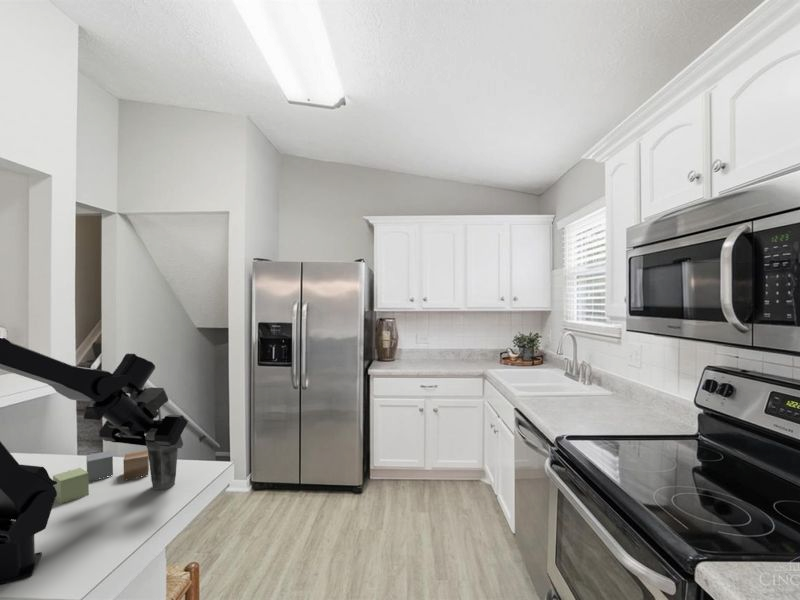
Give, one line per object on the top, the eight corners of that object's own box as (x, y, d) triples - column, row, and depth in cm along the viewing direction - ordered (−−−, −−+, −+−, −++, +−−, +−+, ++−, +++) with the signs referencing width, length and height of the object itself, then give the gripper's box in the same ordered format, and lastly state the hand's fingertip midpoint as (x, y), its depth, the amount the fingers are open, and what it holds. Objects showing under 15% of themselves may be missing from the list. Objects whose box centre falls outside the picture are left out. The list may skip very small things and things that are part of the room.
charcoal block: (112, 476, 102) (112, 456, 102) (87, 482, 99) (87, 461, 99) (111, 470, 106) (110, 450, 106) (86, 475, 103) (86, 455, 103)
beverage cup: (188, 480, 99) (187, 397, 99) (163, 494, 92) (162, 404, 92) (164, 477, 101) (162, 395, 101) (137, 491, 94) (136, 403, 94)
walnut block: (148, 476, 102) (147, 455, 102) (123, 480, 100) (123, 460, 100) (148, 468, 106) (148, 449, 106) (125, 473, 104) (125, 453, 104)
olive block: (88, 495, 93) (88, 472, 93) (60, 504, 88) (60, 481, 88) (80, 489, 95) (80, 467, 95) (53, 497, 91) (52, 475, 91)
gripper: (180, 379, 89) (215, 415, 100) (109, 377, 94) (150, 412, 104) (152, 427, 82) (192, 460, 93) (76, 422, 86) (124, 455, 97)
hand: (164, 445), depth 97 cm, fingers open, 9 cm apart
